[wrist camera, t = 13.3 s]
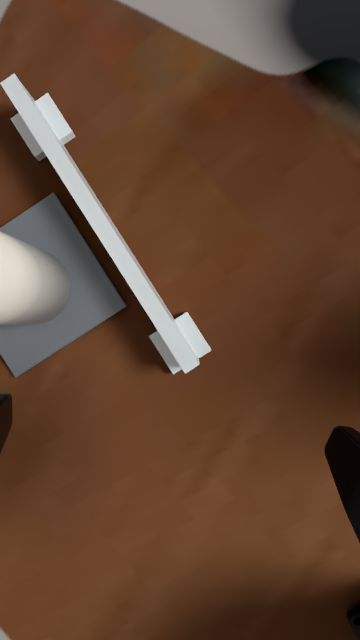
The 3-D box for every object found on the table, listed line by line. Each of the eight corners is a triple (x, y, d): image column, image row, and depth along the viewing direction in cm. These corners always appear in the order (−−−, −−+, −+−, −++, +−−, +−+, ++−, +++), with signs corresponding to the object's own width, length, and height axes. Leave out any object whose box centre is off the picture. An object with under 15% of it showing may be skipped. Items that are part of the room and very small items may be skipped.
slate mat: (127, 306, 21) (125, 306, 21) (18, 376, 21) (15, 377, 21) (56, 194, 21) (53, 192, 21) (-52, 266, 21) (-56, 265, 21)
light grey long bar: (211, 349, 21) (214, 355, 18) (173, 372, 21) (170, 382, 18) (51, 99, 21) (28, 63, 18) (15, 124, 21) (-14, 93, 18)
